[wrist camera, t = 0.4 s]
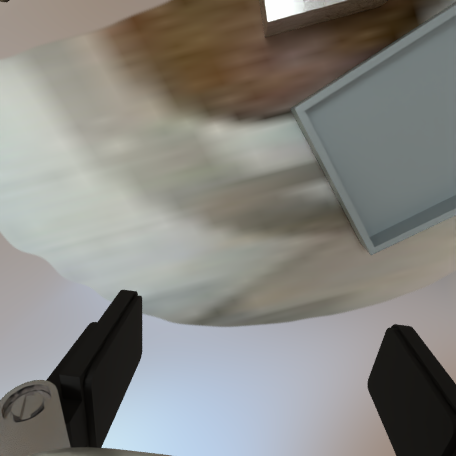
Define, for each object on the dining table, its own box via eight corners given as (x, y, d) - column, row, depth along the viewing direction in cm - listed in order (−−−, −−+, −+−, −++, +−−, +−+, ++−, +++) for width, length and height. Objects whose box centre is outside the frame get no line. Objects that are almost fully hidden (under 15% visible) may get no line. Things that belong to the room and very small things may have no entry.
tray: (511, -35, 29) (545, -53, 26) (560, 146, 34) (592, 149, 31) (290, 108, 35) (294, 108, 32) (361, 243, 40) (370, 255, 37)
